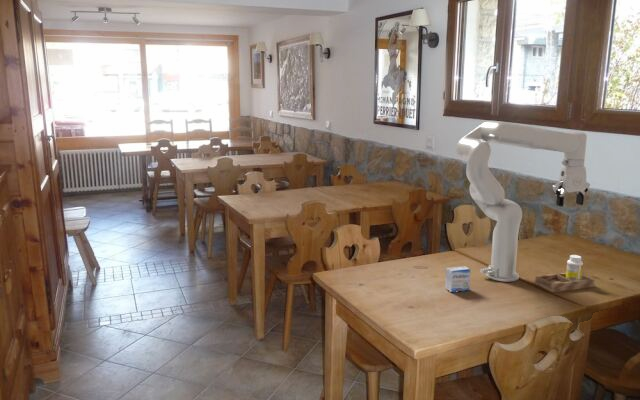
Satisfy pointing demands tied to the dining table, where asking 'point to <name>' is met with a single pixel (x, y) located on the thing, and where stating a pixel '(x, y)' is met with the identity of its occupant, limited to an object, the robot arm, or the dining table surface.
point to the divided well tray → (562, 282)
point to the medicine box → (457, 278)
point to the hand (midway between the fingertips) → (569, 205)
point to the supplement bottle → (574, 268)
